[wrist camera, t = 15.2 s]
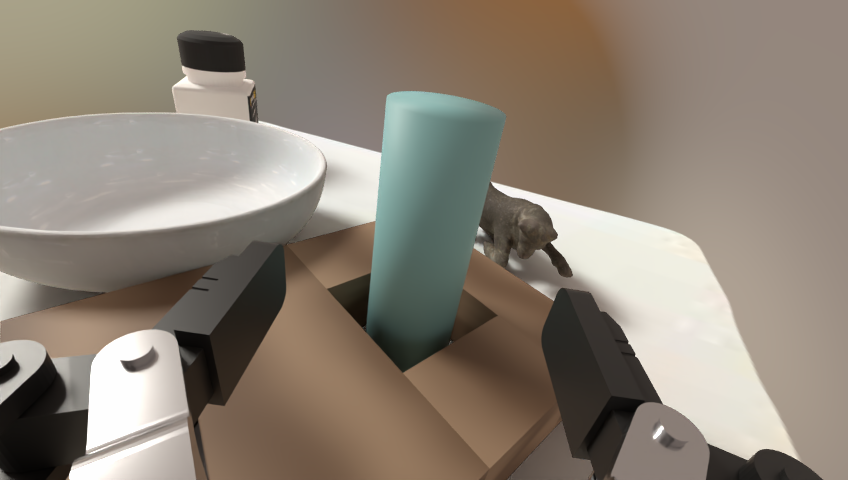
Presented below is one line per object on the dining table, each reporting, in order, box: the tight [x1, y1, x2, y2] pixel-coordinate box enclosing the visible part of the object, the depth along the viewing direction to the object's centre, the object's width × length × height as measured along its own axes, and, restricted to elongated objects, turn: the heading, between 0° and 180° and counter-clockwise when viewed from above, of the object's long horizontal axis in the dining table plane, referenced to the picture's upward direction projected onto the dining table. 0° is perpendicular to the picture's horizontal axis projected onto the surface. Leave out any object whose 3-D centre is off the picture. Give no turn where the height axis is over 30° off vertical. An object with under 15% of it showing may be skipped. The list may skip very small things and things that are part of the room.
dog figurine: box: [479, 182, 573, 277], centre depth 30 cm, size 12×6×7 cm, turn 34°
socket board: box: [0, 221, 562, 480], centre depth 18 cm, size 22×16×4 cm
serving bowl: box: [0, 112, 327, 292], centre depth 26 cm, size 21×21×7 cm
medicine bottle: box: [172, 30, 258, 123], centre depth 42 cm, size 7×7×12 cm
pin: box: [366, 91, 506, 373], centre depth 18 cm, size 5×5×14 cm
